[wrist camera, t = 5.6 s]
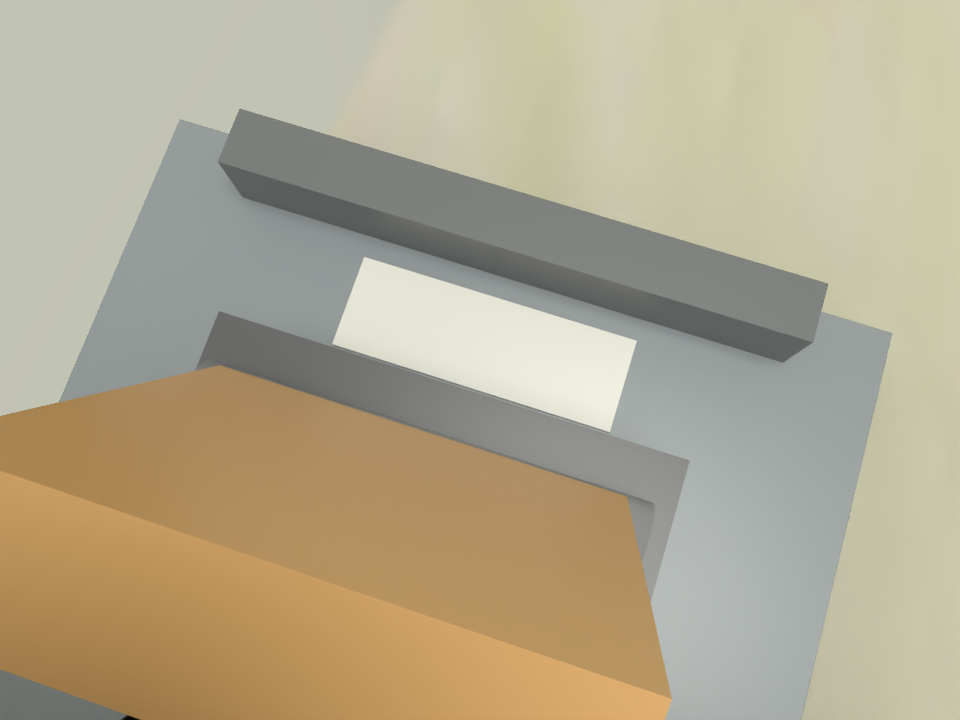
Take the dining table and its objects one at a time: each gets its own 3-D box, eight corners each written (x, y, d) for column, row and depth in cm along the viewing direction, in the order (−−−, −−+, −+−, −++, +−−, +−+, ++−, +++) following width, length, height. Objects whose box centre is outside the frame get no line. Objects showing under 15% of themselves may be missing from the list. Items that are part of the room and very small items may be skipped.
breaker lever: (623, 576, 14) (674, 910, 6) (201, 436, 14) (-196, 598, 7) (654, 484, 14) (740, 721, 6) (225, 347, 14) (-155, 419, 7)
